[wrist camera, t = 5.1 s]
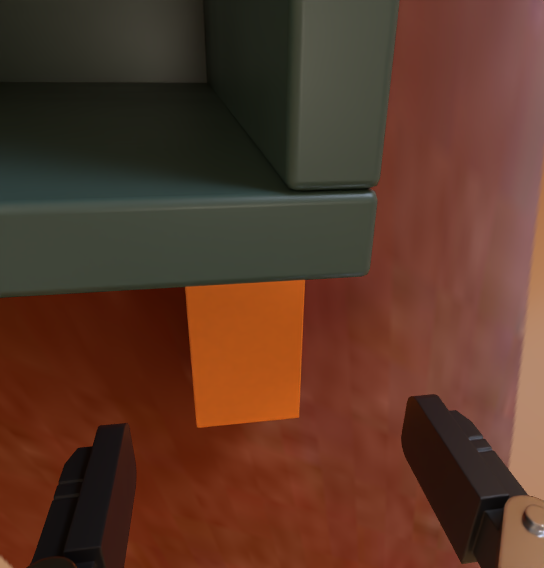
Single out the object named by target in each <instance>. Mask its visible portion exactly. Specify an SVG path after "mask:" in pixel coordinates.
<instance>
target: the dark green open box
mask: <svg viewBox="0 0 544 568" xmlns="http://www.w3.org/2000/svg"><path fill="white" fill-rule="evenodd" d="M398 9H399V0H0V298H3V297H20V296H37V295H54V294H71V293H88V292H105V291H122V290H139V289H156V288H174V287H191V286H208V285H225V284H242V283H259V282H276V281H293V280H310V279H327V278H344V277H361V276H364V275H367V274H368V272H369V269H370V263H371V254H372V245H373V236H374V227H375V218H376V209H377V197H376V194H375V192H374V191H373V190H372V189H370V187H373V186H376V185H377V184H378V181H379V179H380V172H381V163H382V154H383V145H384V136H385V127H386V118H387V109H388V100H389V91H390V82H391V73H392V64H393V55H394V46H395V37H396V28H397V19H398Z"/></svg>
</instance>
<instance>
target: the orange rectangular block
mask: <svg viewBox="0 0 544 568" xmlns="http://www.w3.org/2000/svg"><path fill="white" fill-rule="evenodd" d="M304 291H305V280H293V281H276V282H259V283H242V284H225V285H208V286H191V287H185V295H186V307H187V319H188V331H189V343H190V355H191V367H192V379H193V391H194V402H195V414H196V426H197V428H202V427H212V426H222V425H232V424H242V423H251V422H261V421H271V420H281V419H291V418H298V417H299V406H300V383H301V360H302V337H303V314H304Z"/></svg>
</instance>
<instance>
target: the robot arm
mask: <svg viewBox="0 0 544 568" xmlns="http://www.w3.org/2000/svg"><path fill="white" fill-rule="evenodd" d="M401 441H402V448H403V452H404V455H405V457H406V459H407V461H408V463H409V465H410V467H411V469H412V471H413V473H414V474H415V476H416V478H417V480H418V482H419V484H420V486H421V488H422V490H423V492H424V493H425V495H426V497H427V499H428V501H429V503H430V505H431V507H432V509H433V510H434V512H435V514H436V516H437V518H438V520H439V522H440V524H441V526H442V527H443V529H444V531H445V533H446V535H447V537H448V539H449V541H450V543H451V544H452V546H453V548H454V550H455V552H456V554H457V556H458V558H459V560H460V561H461V563H462V564H465V563H472V562H478V563H479V565H480V567H481V568H544V501H543V500H541V499H539V498H536V497H533V496H529V495H527V493H526V492H525V491H524V489H523V488H522V487H521V485H520V484H519V483H518V482H517V480H516V479H515V477H514V476H513V475H512V473H511V472H510V471H509V470H508V468H507V467H506V466H505V464H504V463H503V462H502V460H501V459H500V458H499V457H498V455H497V454H496V453H495V451H492V447H491V446H490V445H489V443H488V442H487V441H486V440H485V439H483V436H482V434H481V433H480V432H479V430H478V429H477V428H476V427H475V425H474V424H473V423H472V422H471V421H470V420H469V419H467V418H466V417H464V416H463V415H462V414H460V413H459V412H458V411H456V410H454V411H449V410H448V409H447V408H446V406H445V405H444V403H443V402H442V401H441V399H440V398H439V397H438V396H437V395H435V394H432V395H421V396H411V397H409V398H408V401H407V406H406V412H405V418H404V424H403V429H402V436H401ZM135 489H136V462H135V456H134V451H133V445H132V439H131V433H130V428H129V424H128V423H122V424H111V425H101V426H99V427H98V429H97V432H96V436H95V440H94V443H93V446H92V447H82V448H78V449H77V450H76V451H75V452H74V453H73V455H72V456H71V457H70V458H69V460H68V461H67V462H66V463H65V465H64V468H63V471H62V474H61V477H60V480H59V485H58V486H57V489H56V492H55V495H54V500H53V501H52V504H51V506H50V509H49V512H48V515H47V518H46V521H45V524H44V527H43V530H42V533H41V536H40V539H39V542H38V545H37V548H36V551H35V554H34V557H33V559H32V562H31V564H30V565H29V566H28V567H27V568H124V563H125V557H126V550H127V543H128V536H129V530H130V523H131V516H132V509H133V503H134V496H135Z"/></svg>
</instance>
